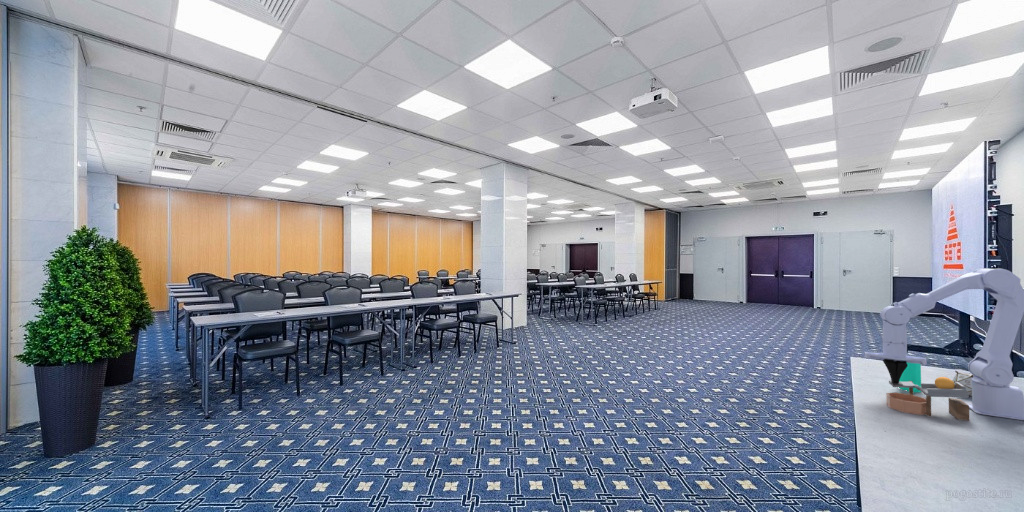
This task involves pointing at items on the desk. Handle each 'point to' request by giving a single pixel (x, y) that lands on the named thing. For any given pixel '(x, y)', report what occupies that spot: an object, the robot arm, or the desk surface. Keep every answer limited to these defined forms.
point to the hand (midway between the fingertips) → (895, 382)
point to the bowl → (906, 403)
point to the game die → (964, 381)
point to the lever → (935, 389)
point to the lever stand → (955, 407)
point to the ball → (944, 383)
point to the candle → (912, 376)
